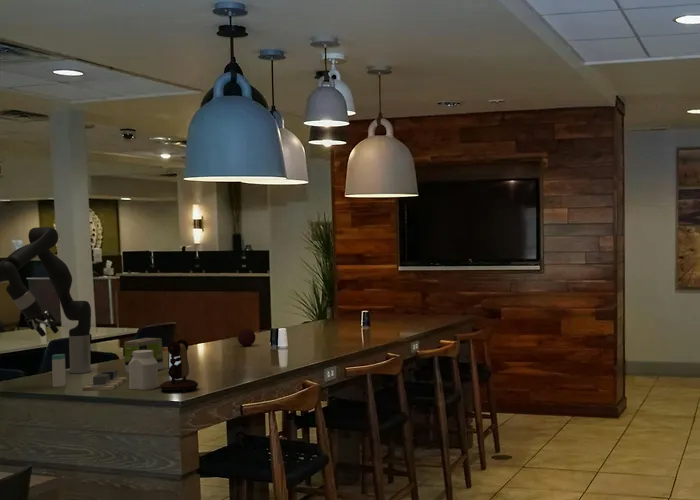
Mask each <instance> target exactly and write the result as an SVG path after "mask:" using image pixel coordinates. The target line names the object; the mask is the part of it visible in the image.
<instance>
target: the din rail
mask: <svg viewBox="0 0 700 500" xmlns="http://www.w3.org/2000/svg"><path fill="white" fill-rule="evenodd" d="M119 377H120V375H119V374H118V369H117V368H116V369H105V370H103V371H102V372H101V373H100V374H99V373H98V374H96V375H94V376H93V377H92V382H93V385H92V387H105V386H106V385H108V384H109V383H111V382H113V381H114V380H116V379H117V378H119Z"/></svg>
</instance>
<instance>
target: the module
mask: <svg viewBox="0 0 700 500" xmlns="http://www.w3.org/2000/svg"><path fill="white" fill-rule="evenodd" d="M51 366H52V367H51V370H52V371H51V372H52V388H53V387H56V388H57V387H60V388H61V387H64V386H66V384H67V383H66V353H61V354H60V353H58V354H57V353H55V354H53V355H51Z"/></svg>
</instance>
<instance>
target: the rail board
mask: <svg viewBox="0 0 700 500" xmlns="http://www.w3.org/2000/svg"><path fill="white" fill-rule="evenodd" d="M126 381H128V376H119V378H117V379H116V380H114V381H113V382H111V383H109V384H108V385H106V386H105V387H92V385H93V381H92V382H90V383H89V384H87V385H85V386H83V387H82V391H85V392H87V391H88V392H89V391H113V390H114V389H116V388H118V387H119V386H121V385H122V384H123V383H124V382H126Z"/></svg>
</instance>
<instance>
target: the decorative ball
mask: <svg viewBox="0 0 700 500" xmlns="http://www.w3.org/2000/svg"><path fill="white" fill-rule="evenodd" d="M256 337H257V336H256V333H255V332H254V331H253V330H252V329H251V328H243V329H241V330H240V331H239V332H238V334H237V341H238V343H239V344H240V345H241V346H243V347H250V346H252V345H253V344H254V343H255V341H256Z"/></svg>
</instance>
